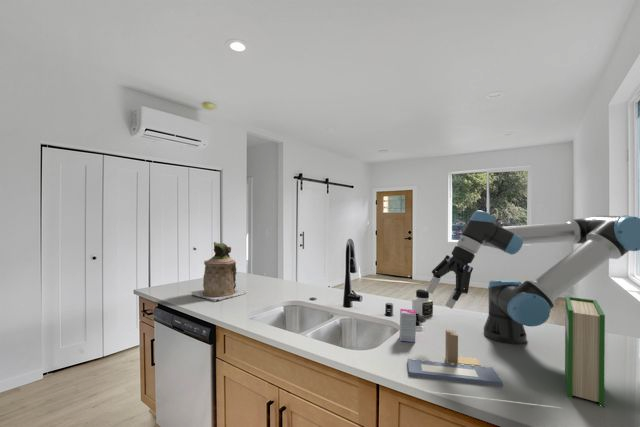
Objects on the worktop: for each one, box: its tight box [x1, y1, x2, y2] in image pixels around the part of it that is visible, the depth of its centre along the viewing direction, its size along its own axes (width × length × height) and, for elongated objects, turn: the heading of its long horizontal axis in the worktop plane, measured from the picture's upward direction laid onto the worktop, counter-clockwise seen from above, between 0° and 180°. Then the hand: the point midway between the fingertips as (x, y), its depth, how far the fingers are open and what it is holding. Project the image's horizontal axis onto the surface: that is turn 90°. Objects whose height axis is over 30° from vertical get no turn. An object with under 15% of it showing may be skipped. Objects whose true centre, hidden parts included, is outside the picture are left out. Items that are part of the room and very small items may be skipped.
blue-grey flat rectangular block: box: [407, 358, 503, 388], centre depth 98 cm, size 26×9×2 cm, turn 77°
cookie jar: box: [190, 241, 248, 302], centre depth 192 cm, size 25×25×32 cm
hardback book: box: [564, 296, 606, 407], centre depth 91 cm, size 18×7×24 cm, turn 144°
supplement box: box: [399, 308, 417, 344], centre depth 125 cm, size 6×6×12 cm
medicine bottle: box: [411, 289, 434, 318], centre depth 157 cm, size 7×7×12 cm
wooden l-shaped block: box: [445, 329, 482, 366], centre depth 105 cm, size 10×5×10 cm, turn 77°
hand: (438, 299), depth 119 cm, fingers open, 13 cm apart
